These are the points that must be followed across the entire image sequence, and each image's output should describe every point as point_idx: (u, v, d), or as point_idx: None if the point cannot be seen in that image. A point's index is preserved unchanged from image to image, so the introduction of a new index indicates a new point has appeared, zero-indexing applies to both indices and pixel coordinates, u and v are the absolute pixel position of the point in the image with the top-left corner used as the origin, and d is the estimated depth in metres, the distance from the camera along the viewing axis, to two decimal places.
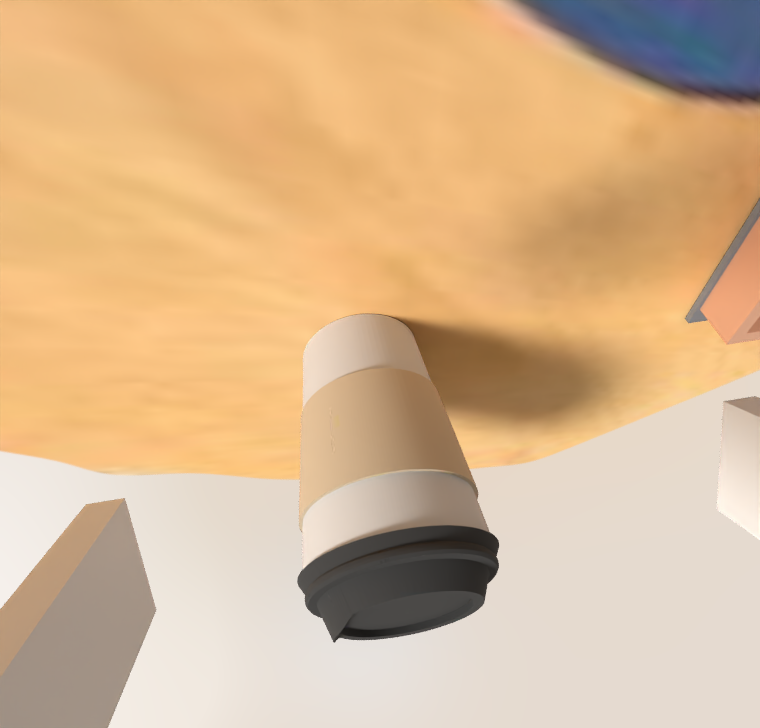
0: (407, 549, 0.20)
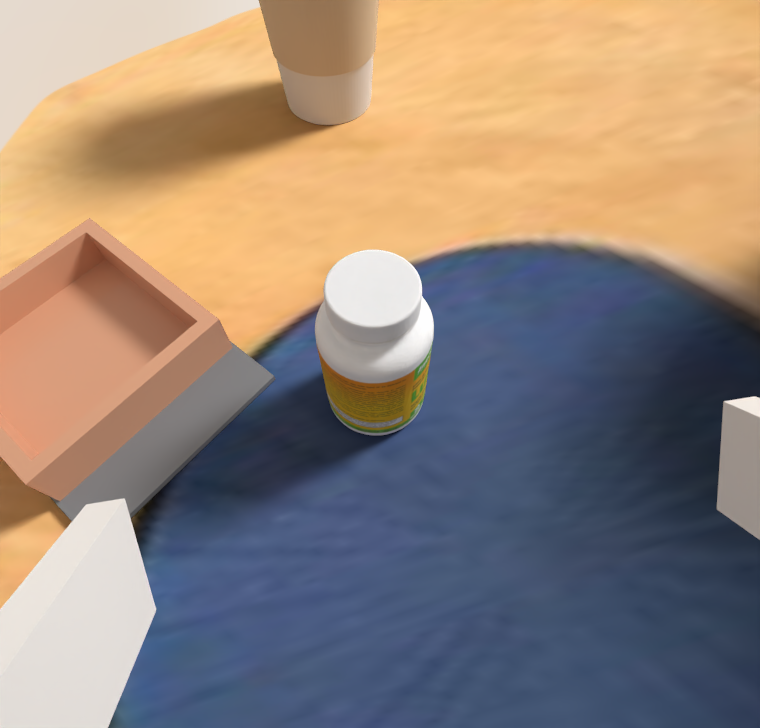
0: None
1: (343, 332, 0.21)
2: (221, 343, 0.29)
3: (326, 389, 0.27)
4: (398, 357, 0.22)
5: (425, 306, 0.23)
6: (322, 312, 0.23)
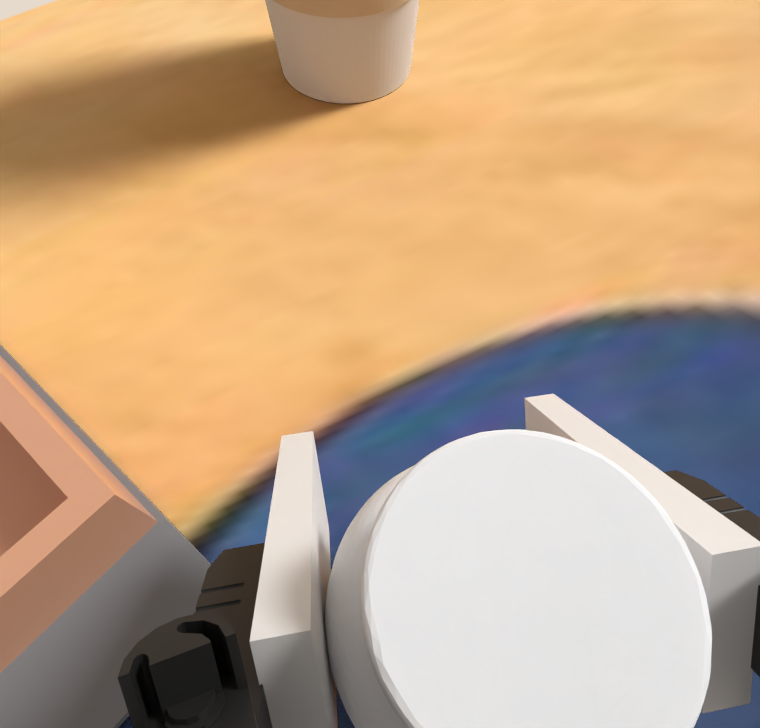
0: None
1: None
2: (129, 526, 0.14)
3: None
4: None
5: None
6: (348, 583, 0.08)
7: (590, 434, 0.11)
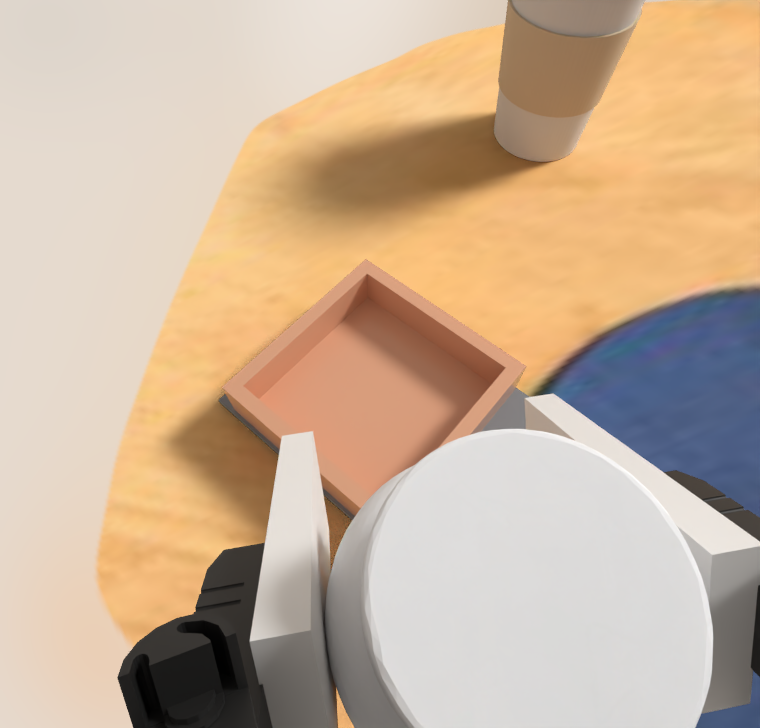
0: None
1: None
2: (513, 387, 0.30)
3: None
4: None
5: None
6: (348, 583, 0.08)
7: (590, 434, 0.11)
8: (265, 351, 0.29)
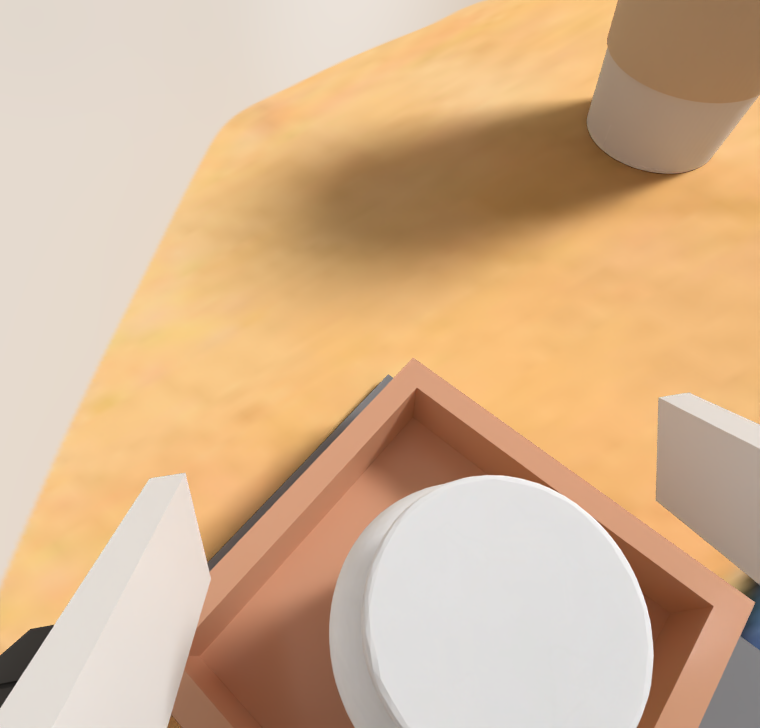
0: None
1: None
2: None
3: None
4: None
5: None
6: (349, 603, 0.09)
7: None
8: (221, 566, 0.14)
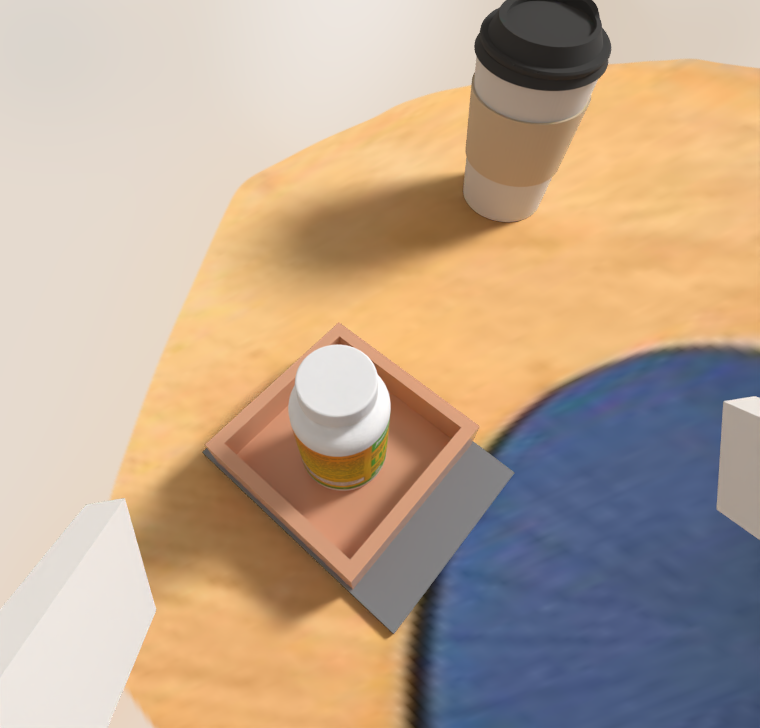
0: None
1: (310, 417, 0.25)
2: (470, 443, 0.33)
3: None
4: (357, 437, 0.26)
5: (383, 390, 0.27)
6: (295, 392, 0.27)
7: None
8: (245, 410, 0.32)
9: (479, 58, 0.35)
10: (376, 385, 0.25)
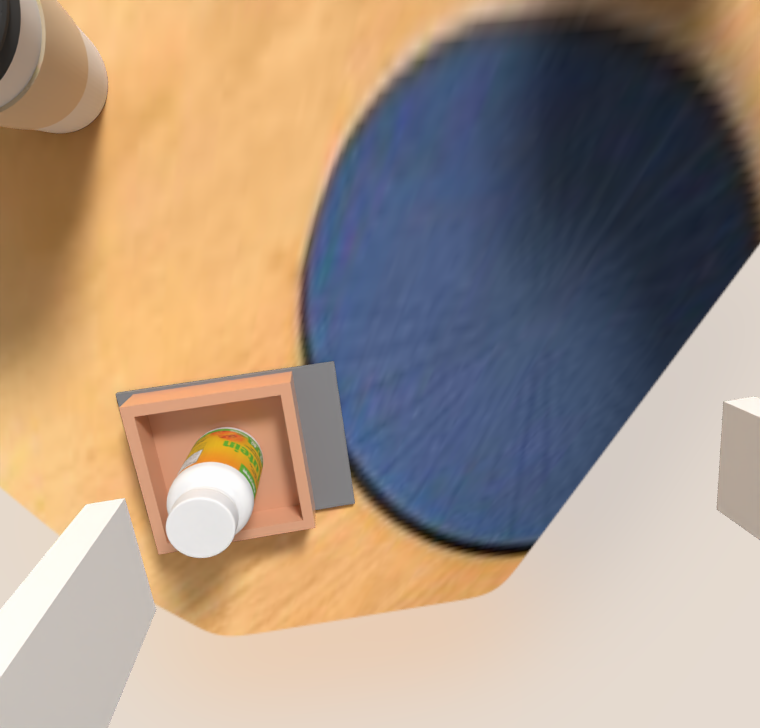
0: None
1: None
2: (292, 381, 0.38)
3: None
4: (244, 516, 0.33)
5: (225, 476, 0.32)
6: None
7: None
8: (151, 518, 0.38)
9: None
10: (226, 508, 0.31)
